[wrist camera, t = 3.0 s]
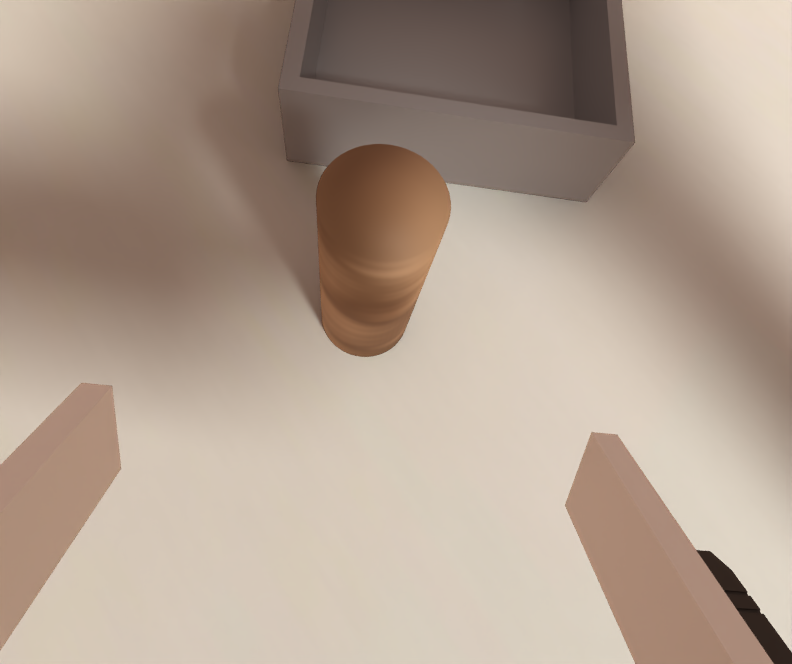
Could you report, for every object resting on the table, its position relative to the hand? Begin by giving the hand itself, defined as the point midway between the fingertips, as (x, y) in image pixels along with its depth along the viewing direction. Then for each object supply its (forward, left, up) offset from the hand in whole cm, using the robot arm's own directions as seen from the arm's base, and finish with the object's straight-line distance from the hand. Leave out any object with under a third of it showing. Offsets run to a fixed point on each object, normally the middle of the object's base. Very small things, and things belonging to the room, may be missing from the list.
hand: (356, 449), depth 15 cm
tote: (-4, -29, -14) cm, 33 cm away
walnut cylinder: (0, -9, -14) cm, 16 cm away
